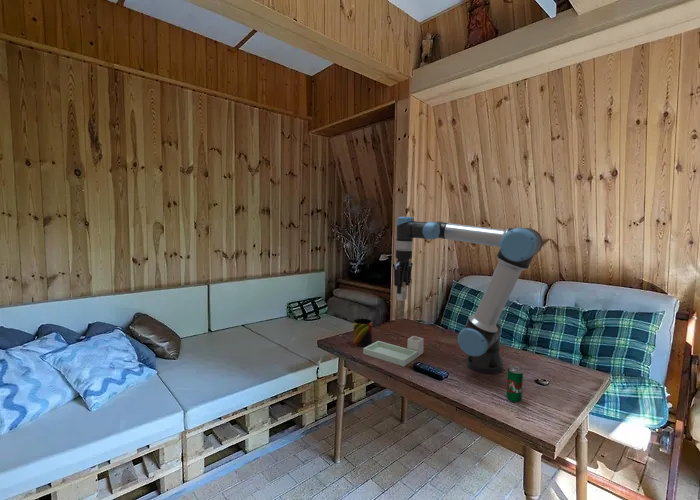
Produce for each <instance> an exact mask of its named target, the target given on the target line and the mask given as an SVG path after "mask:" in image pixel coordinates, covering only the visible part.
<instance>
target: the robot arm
mask: <svg viewBox="0 0 700 500" xmlns="http://www.w3.org/2000/svg"><path fill="white" fill-rule="evenodd" d="M396 221H397V222H396V243H395V249H396V250H395V259H397V261H396V264H394V265H393V277H394V278H393V283H394V286H395V287H396V300H397V301H398V300H400V301H403V287H402V283H403V282H406V288H405V300H407V299H408V295H407V294H408V286H410V284H411V278H412V267H413V264H414V263H413V262H411V261H410V260H412V258H413V251H412V250H413V244H414V243H413V242H414V239H421V240H422V239H424V240H436V239H441V240H442V239H443V240H450V241H451V240H452V241H457V242H464V243H470V244H477V245H483V246H488V247H493V248H494V247H496V248H499V250H498V252H497V255H496V259H497V261H498V263H497V265H496V268H495V269H494V271H493V274H492V276H491V278H490V281H489V283H488V284H487V287H486V289H485V291H484V294H483V296H482V298H481V300H480V302H479V304H478V306H477V309H476V311H475V313H474V314H471V315H469V317H468V319H467V321H466V323H465V325H464V328H463V329H461V330H460V331H459V333H458V336H457V343H458V346H459V348H460V349H461V351H462V352H464V353H465V355H468V356H467V358H466V366H467V367H468V368H469V369H471V370H473V371H475V372H478V373H482V374H489V375H490V374H491V375H495V374H499V373H502V372H503V370H504V361H503V359H502V356H501V353H500V352H501V351H500V348H501V333H502V332H501V331H502V320H501V319H500V317H501V315H502V312H503V311H504V308H505V306H506V304H507V302H508V300H509V299H510V296H511V294H512V291H513V290H514V288H515V285H516V284H517V282H518V280H519V277H520V276H521V274H522V272H523V271H526V270H528V269H529V267H530V265H531V263H532V261H533V259H534V257H535V256H536V255H537V254H538V253H539V252H540V251H541V250H542V247H543V242H544V241H543V238H542V235H541V234H540V233H539V232H538V231H537V230H536V229H534V228H530V227H518V228H517V227H515V228H514V227H507V228H506V229H501V228H493V227H484V226H478V225H477V226H476V225H475V226H474V225H468V224H459V223H450V222H444V221H439V220H438V221H417V220H415V218H414V217H413V216H398V217H397V220H396Z"/></svg>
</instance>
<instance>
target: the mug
mask: <svg viewBox="0 0 700 500" xmlns="http://www.w3.org/2000/svg"><path fill="white" fill-rule="evenodd" d="M352 328H353V334H352V335H353V336H352V337H353V339H352V343H353V346H355V347H359V348H365V347H367V346H369V345H371V344H373V338H372V337H373V321H372V320H371V319H369V318H357V319H354V320H353V327H352Z"/></svg>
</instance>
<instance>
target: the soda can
mask: <svg viewBox="0 0 700 500" xmlns="http://www.w3.org/2000/svg"><path fill="white" fill-rule="evenodd" d="M506 379H507V380H506V396H505V397H506V399H507V400H509V402H512V403H521V401H522V399H523V385H524V384H523V383H524V382H523V381H524V380H523V379H524V371H523V368H522V367H521V366H519V365H509V366H508V368H507V375H506Z"/></svg>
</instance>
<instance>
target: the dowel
mask: <svg viewBox="0 0 700 500" xmlns="http://www.w3.org/2000/svg"><path fill="white" fill-rule="evenodd" d="M402 287H403V301H400V300H397V301H398V303H397V318H398V319H404V318H405V308H406V307H405V306H406V305H405V304H406V299H405V288H406V282H403V283H402Z"/></svg>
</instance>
